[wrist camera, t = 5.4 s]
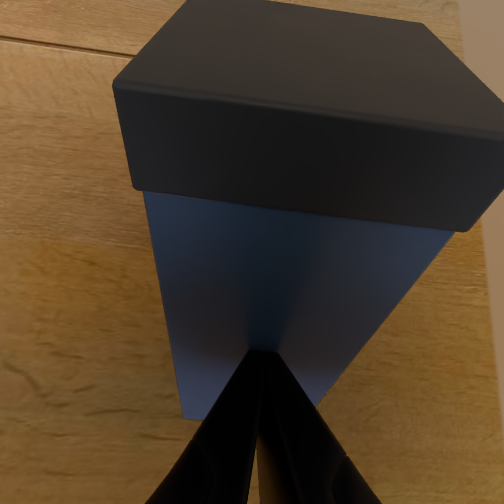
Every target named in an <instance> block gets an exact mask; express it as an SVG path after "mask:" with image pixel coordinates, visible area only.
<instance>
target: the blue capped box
mask: <svg viewBox="0 0 504 504" xmlns="http://www.w3.org/2000/svg"><path fill="white" fill-rule="evenodd" d="M112 88H113V93H114V98H115V103H116V108H117V112H118V117H119V122H120V127H121V132H122V137H123V142H124V146H125V151H126V156H127V161H128V166H129V171H130V176H131V180H132V185H133V188H134V189H136V190H138V191H143V197H144V202H145V208H146V213H147V219H148V224H149V230H150V235H151V241H152V246H153V252H154V257H155V263H156V268H157V274H158V280H159V285H160V291H161V296H162V302H163V307H164V313H165V318H166V324H167V329H168V335H169V340H170V346H171V351H172V357H173V362H174V368H175V373H176V379H177V384H178V390H179V395H180V401H181V406H182V412H183V417H184V418H185V419H194V420H204V419H205V417H206V415H207V414H208V412H209V411H210V409H211V408H212V406H213V404H214V403H215V401H216V400H217V398H218V396H219V395H220V393H221V392H222V390H223V389H224V387H225V385H226V384H227V382H228V381H229V379H230V378H231V376H232V374H233V373H234V371H235V370H236V368H237V366H238V365H239V363H240V362H241V360H242V359H243V357H244V355H245V354H246V352H247V351H248V350H249V349H252V350H261V351H262V352H263V353H264V352H265V351H269V352H277V353H279V354H280V356H281V357H282V359H283V360H284V362H285V363H286V364H287V366H288V367H289V369H290V370H291V372H292V373H293V375H294V376H295V378H296V379H297V381H298V382H299V384H300V385H301V387H302V388H303V390H304V391H305V393H306V394H307V396H308V397H309V399H310V400H311V402H312V403H313V405H314V406H315V407H316V405H317V404H318V403H319V402H320V400H321V399H322V398H323V397H324V395H325V394H326V393H327V392H328V390H329V389H330V388H331V387H332V385H333V384H334V383H335V382H336V380H337V379H338V378H339V377H340V375H341V374H342V373H343V372H344V370H345V369H346V368H347V367H348V365H349V364H350V363H351V362H352V360H353V359H354V358H355V357H356V355H357V354H358V353H359V352H360V350H361V349H362V348H363V347H364V345H365V344H366V343H367V342H368V340H369V339H370V338H371V337H372V335H373V334H374V333H375V332H376V331H377V329H378V328H379V327H380V326H381V324H382V323H383V322H384V321H385V319H386V318H387V317H388V316H389V314H390V313H391V312H392V311H393V309H394V308H395V307H396V306H397V304H398V303H399V302H400V301H401V299H402V298H403V297H404V296H405V294H406V293H407V292H408V291H409V289H410V288H411V287H412V286H413V284H414V283H415V282H416V281H417V279H418V278H419V277H420V276H421V274H422V273H423V272H424V271H425V269H426V268H427V267H428V266H429V264H430V263H431V262H432V261H433V259H434V258H435V257H436V256H437V254H438V253H439V252H440V251H441V249H442V248H443V247H444V246H445V244H446V243H447V242H448V241H449V239H450V238H451V237H452V236H453V234H454V233H455V232H467V231H468V230H470V229H471V227H472V226H473V225H474V224H475V223H476V222H477V220H478V219H479V218H480V217H481V216H482V214H483V213H484V212H485V211H486V210H487V208H488V207H489V206H490V205H491V203H492V202H493V201H494V200H495V199H496V198H497V197H498V195H499V194H500V193H501V192H502V190H503V189H504V103H503V102H502V101H501V100H500V99H499V98H498V97H497V96H496V95H495V94H494V93H493V92H492V91H491V90H490V89H489V88H488V87H487V86H486V85H485V84H484V83H483V82H482V81H481V80H480V79H479V78H478V77H477V76H476V75H475V74H474V73H473V72H472V71H471V70H469V68H468V67H467V66H466V65H465V64H464V63H463V62H462V61H461V60H460V59H459V58H457V57H456V56H455V55H454V54H453V53H452V52H451V51H450V50H449V49H448V48H447V47H446V46H445V45H444V44H443V43H442V42H441V41H440V40H439V39H438V38H437V37H436V36H435V35H434V34H433V33H432V32H431V31H430V30H429V29H428V28H427V27H426V26H425V25H424V24H422V23H417V22H410V21H404V20H397V19H390V18H383V17H376V16H370V15H363V14H356V13H349V12H343V11H336V10H329V9H322V8H315V7H309V6H302V5H295V4H288V3H281V2H275V1H268V0H187V1H186V2H185V3H184V4H183V5H182V6H181V7H180V8H179V9H178V10H177V11H176V12H175V14H174V15H173V16H172V17H171V18H170V19H169V20H168V21H167V22H166V23H165V24H164V25H163V27H162V28H161V29H160V30H159V31H158V32H157V33H156V34H155V35H154V36H153V37H152V38H151V40H150V41H149V42H148V43H147V44H146V45H145V46H144V47H143V48H142V49H141V50H140V51H139V53H138V54H137V55H136V56H135V57H134V58H133V59H132V60H131V61H130V62H129V63H128V64H127V66H126V67H125V68H124V69H123V70H122V71H121V72H120V73H119V74H118V75H117V76H116V77H115V79H114V80H113V84H112Z"/></svg>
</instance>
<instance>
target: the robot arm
mask: <svg viewBox="0 0 504 504" xmlns="http://www.w3.org/2000/svg"><path fill="white" fill-rule="evenodd" d="M255 449H257V465H258V480H259V496H260V504H382V503H381V502H380V500H379V499H378V498H377V496H376V495H375V494H374V493H373V491H372V490H371V488H370V487H369V485H368V484H367V483H366V481H365V480H364V478H363V477H362V476H361V474H360V473H359V471H358V470H357V468H356V467H355V465H354V464H353V462H352V461H351V459H350V458H349V457H348V456H346V452H345V451H344V449H343V448H342V446H341V445H340V443H339V442H338V440H337V439H336V437H335V436H334V434H333V433H332V431H331V430H330V428H329V427H328V425H327V424H326V422H325V421H324V420H323V418H322V417H321V415H320V414H319V412H318V411H317V409H316V408H315V406H314V405H313V403H312V402H311V400H310V399H309V397H308V396H307V394H306V393H305V391H304V390H303V388H302V387H301V385H300V384H299V382H298V381H297V379H296V378H295V376H294V375H293V373H292V372H291V370H290V369H289V367H288V366H287V364H286V363H285V362H284V360H283V359H282V357H281V356H280V354H279V353H277V352H269V351H265V352H264V353H263V352H262V351H261V350H252V349H249V350H248V351H247V352H246V354H245V355H244V357H243V359H242V360H241V362H240V363H239V365H238V366H237V368H236V370H235V371H234V373H233V374H232V376H231V378H230V379H229V381H228V382H227V384H226V385H225V387H224V389H223V390H222V392H221V393H220V395H219V396H218V398H217V400H216V401H215V403H214V404H213V406H212V408H211V409H210V411H209V412H208V414H207V415H206V417H205V419H204V420H203V422H202V423H201V425H200V426H199V428H198V430H197V431H196V433H195V434H194V436H193V439H192V440H190V442H189V443H188V445H187V447H186V448H185V450H184V451H183V453H182V454H181V456H180V457H179V459H178V460H177V462H176V463H175V465H174V466H173V468H172V469H171V471H170V472H169V473H168V475H167V476H166V477H165V479H164V480H163V481H162V482H161V484H160V485H159V486H158V488H157V489H156V490H155V491H154V493H153V494H152V495H151V496H150V498H149V499H148V500H147V501H146V503H145V504H247V500H248V494H249V487H250V481H251V474H252V468H253V461H254V455H255Z"/></svg>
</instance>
